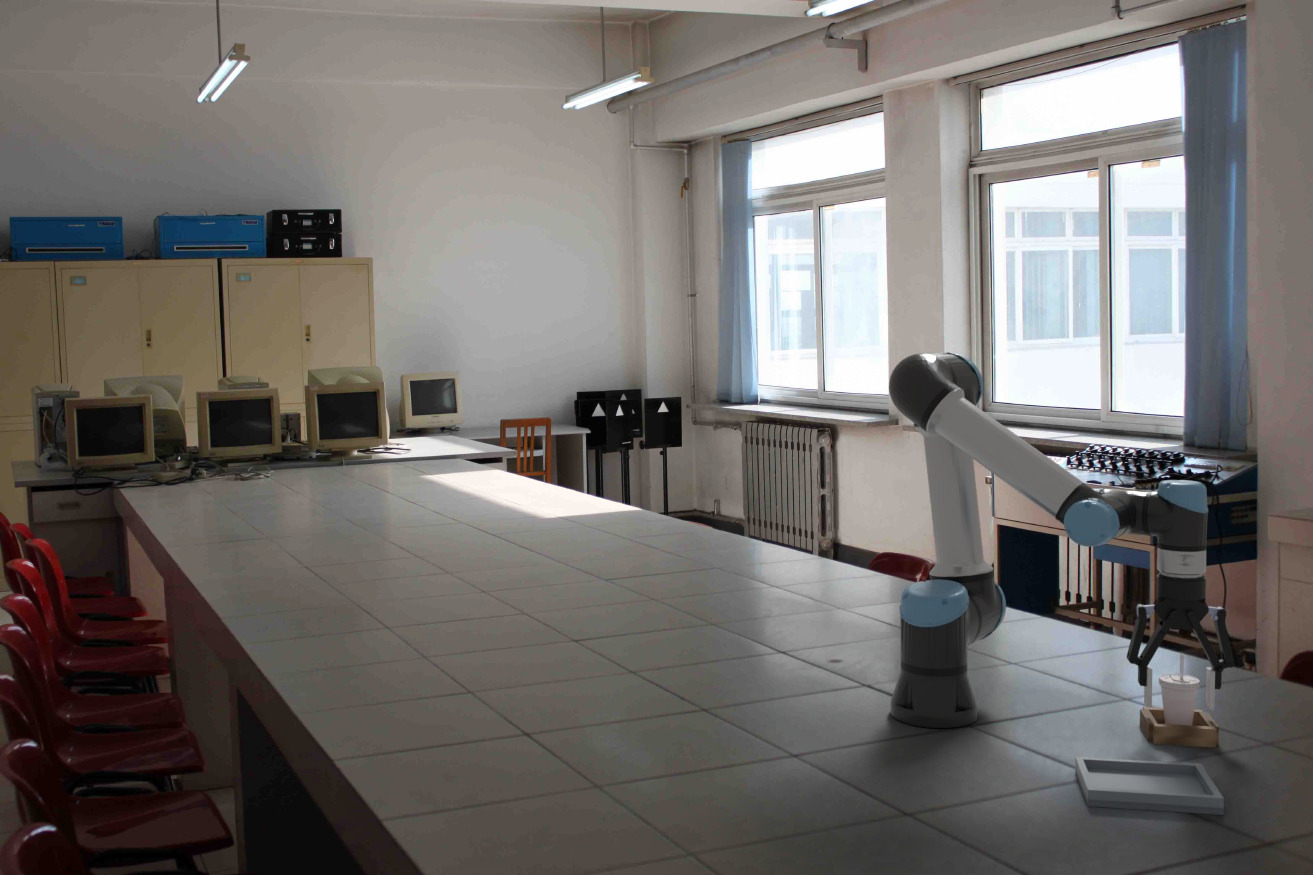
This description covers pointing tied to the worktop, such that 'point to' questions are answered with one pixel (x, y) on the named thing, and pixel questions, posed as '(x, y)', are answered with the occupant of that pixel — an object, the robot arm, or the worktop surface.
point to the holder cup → (1179, 729)
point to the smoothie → (1179, 696)
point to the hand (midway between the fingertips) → (1178, 705)
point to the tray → (1148, 785)
